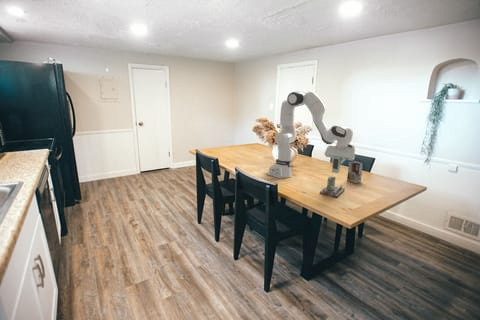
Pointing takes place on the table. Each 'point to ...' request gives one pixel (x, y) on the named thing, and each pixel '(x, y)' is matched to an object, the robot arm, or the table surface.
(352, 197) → the table surface
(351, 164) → the coffee box
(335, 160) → the block
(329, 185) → the rail base
